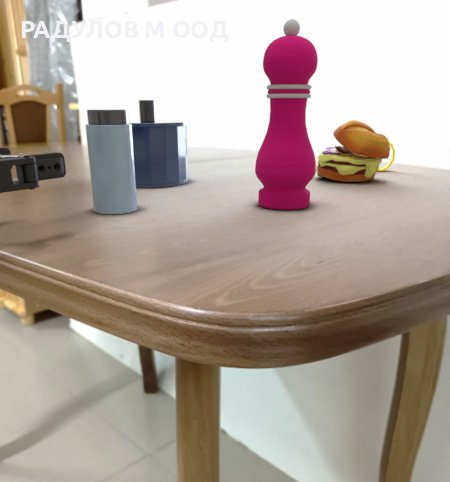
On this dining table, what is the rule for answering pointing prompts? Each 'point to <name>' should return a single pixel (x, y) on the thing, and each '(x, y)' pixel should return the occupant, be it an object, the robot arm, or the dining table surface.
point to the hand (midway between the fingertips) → (34, 161)
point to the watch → (390, 160)
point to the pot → (160, 156)
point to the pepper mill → (287, 123)
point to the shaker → (111, 161)
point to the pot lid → (153, 117)
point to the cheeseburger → (353, 154)
